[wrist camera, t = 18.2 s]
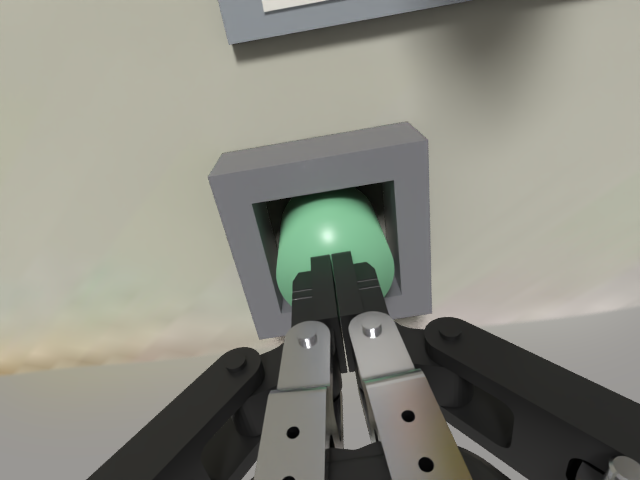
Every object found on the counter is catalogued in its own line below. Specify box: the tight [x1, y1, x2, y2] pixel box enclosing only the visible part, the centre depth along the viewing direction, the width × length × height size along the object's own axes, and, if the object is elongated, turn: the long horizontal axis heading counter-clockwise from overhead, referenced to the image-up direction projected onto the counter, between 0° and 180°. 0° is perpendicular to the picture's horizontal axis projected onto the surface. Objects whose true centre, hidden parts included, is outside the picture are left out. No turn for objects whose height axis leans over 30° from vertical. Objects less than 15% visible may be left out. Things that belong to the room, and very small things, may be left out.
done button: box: [276, 187, 394, 315], centre depth 16 cm, size 4×4×4 cm
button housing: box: [208, 122, 432, 340], centre depth 17 cm, size 8×8×3 cm
